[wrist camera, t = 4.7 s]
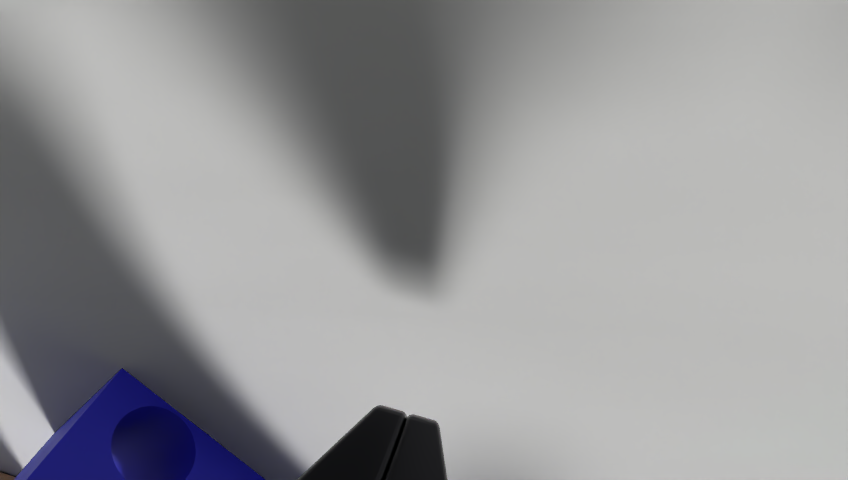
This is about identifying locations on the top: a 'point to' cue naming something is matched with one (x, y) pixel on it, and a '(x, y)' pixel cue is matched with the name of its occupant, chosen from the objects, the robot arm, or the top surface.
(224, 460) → the cable clip
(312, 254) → the top surface
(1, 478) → the wooden rod frame
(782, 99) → the top surface
